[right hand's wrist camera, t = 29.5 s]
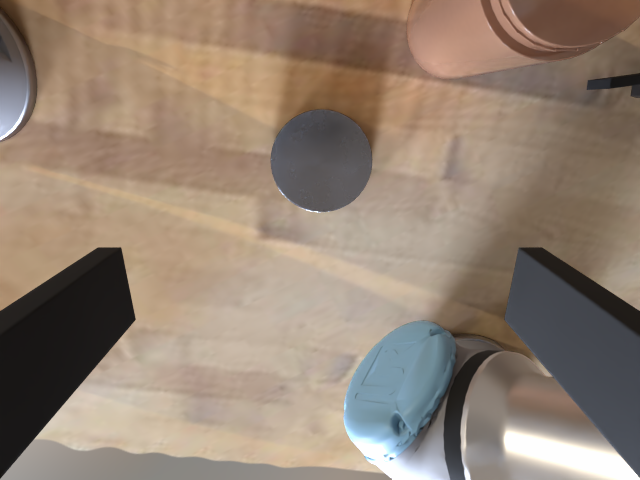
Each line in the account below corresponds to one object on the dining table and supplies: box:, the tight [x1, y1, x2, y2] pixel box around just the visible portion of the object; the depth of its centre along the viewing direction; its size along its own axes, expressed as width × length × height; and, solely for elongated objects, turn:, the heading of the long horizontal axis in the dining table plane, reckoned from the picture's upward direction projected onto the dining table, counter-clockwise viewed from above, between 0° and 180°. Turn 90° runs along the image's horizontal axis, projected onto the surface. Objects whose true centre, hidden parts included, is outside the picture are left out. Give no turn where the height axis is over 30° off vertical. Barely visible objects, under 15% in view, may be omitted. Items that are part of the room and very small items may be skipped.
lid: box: [271, 109, 372, 212], centre depth 39 cm, size 10×10×2 cm
